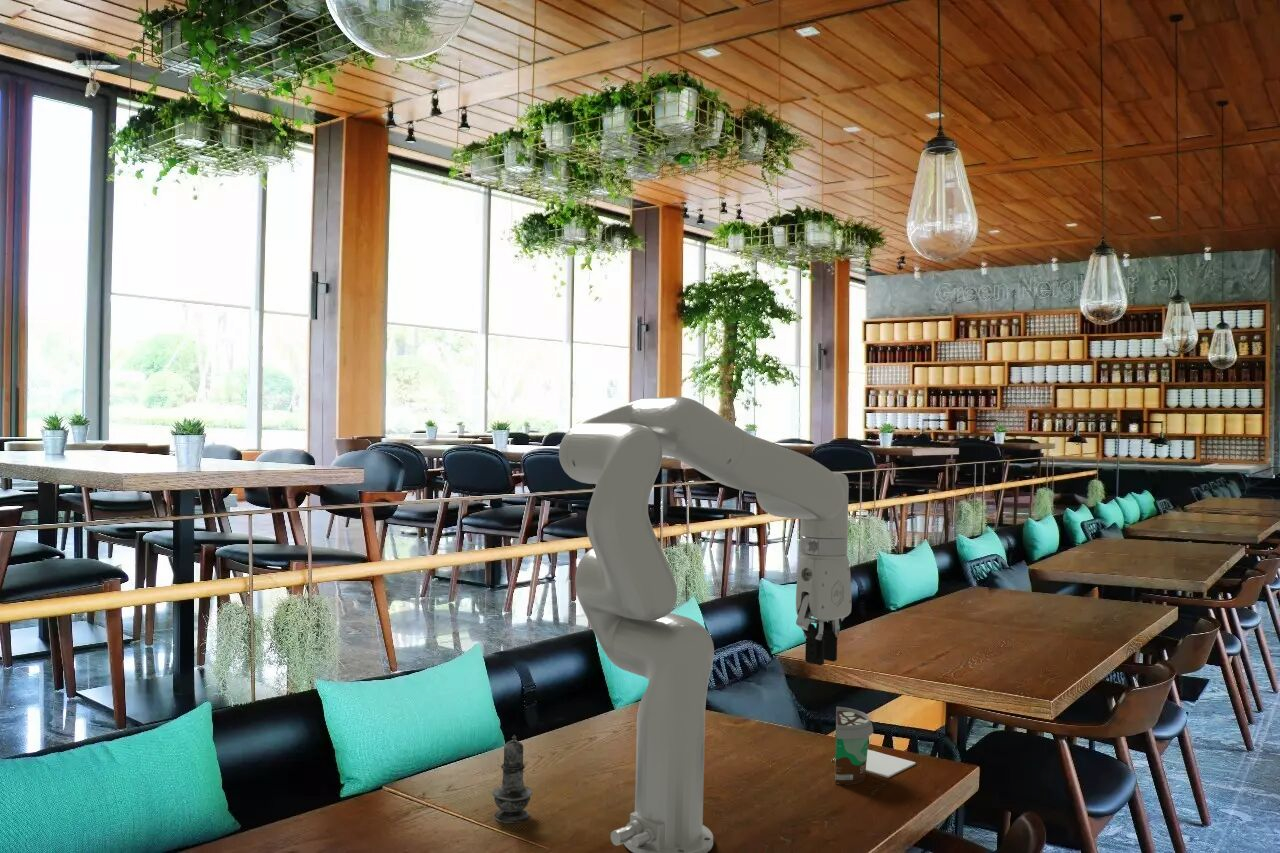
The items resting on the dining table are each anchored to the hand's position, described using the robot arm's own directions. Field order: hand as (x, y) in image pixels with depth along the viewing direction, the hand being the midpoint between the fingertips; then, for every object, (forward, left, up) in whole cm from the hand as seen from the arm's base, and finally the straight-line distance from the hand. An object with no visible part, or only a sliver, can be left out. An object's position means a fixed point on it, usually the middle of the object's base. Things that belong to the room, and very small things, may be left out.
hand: (821, 660), depth 152 cm
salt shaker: (-42, +26, -21) cm, 54 cm away
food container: (+11, 0, -21) cm, 24 cm away
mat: (+19, +1, -21) cm, 29 cm away
